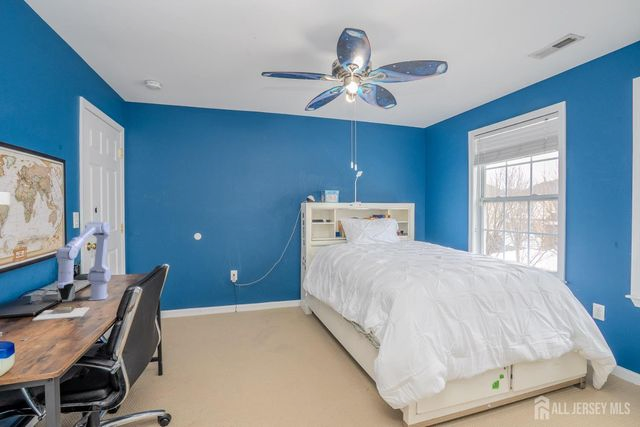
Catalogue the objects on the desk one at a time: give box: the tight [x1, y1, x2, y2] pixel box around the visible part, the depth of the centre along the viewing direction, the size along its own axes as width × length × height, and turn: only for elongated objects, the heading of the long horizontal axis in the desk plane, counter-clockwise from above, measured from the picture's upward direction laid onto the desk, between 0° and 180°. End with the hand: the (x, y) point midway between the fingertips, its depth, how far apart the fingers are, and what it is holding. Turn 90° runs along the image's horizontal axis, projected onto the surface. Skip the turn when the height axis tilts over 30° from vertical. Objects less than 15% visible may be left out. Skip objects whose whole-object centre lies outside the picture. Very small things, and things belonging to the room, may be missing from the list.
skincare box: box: [57, 285, 76, 302], centre depth 169 cm, size 6×6×7 cm
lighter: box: [30, 287, 50, 302], centre depth 161 cm, size 7×2×8 cm, turn 117°
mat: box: [31, 306, 90, 322], centre depth 147 cm, size 14×18×1 cm
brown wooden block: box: [54, 302, 77, 314], centre depth 151 cm, size 2×6×8 cm
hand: (64, 299), depth 149 cm, fingers closed
